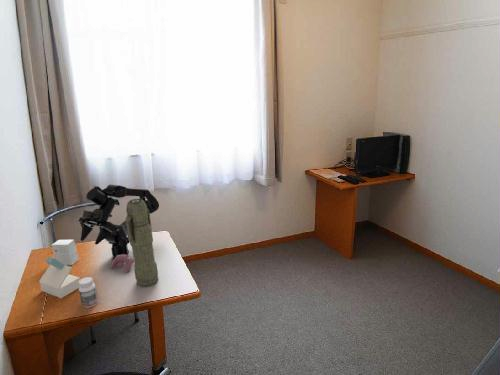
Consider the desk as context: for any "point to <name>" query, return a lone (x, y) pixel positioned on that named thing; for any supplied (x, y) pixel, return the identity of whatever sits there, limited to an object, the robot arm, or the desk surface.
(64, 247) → the small box
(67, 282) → the carton
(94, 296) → the pill bottle
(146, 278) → the olive tall rounded piece
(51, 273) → the flap
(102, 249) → the desk surface
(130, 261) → the video game controller
